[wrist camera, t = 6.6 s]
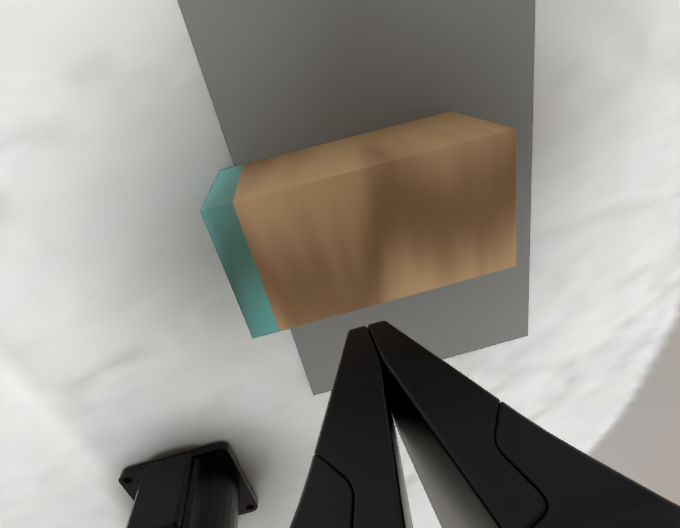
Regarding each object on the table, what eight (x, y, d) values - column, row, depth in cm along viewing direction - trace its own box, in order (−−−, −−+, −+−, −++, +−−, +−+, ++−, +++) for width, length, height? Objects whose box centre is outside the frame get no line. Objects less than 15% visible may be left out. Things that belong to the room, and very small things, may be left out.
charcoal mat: (524, 332, 23) (527, 335, 23) (312, 391, 23) (313, 395, 23) (532, -105, 14) (537, -108, 14) (171, -21, 13) (169, -23, 13)
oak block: (257, 273, 19) (459, 218, 19) (253, 338, 14) (516, 266, 15) (219, 170, 16) (451, 111, 17) (200, 210, 12) (516, 128, 12)
